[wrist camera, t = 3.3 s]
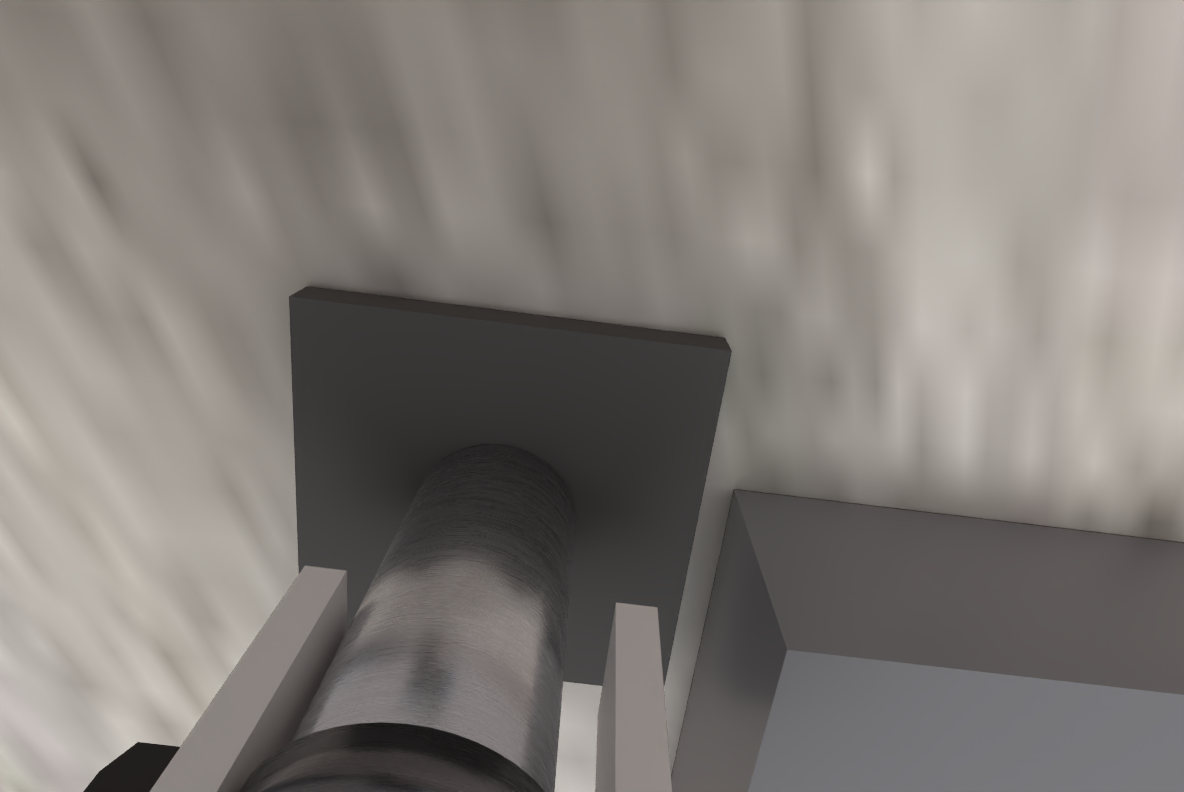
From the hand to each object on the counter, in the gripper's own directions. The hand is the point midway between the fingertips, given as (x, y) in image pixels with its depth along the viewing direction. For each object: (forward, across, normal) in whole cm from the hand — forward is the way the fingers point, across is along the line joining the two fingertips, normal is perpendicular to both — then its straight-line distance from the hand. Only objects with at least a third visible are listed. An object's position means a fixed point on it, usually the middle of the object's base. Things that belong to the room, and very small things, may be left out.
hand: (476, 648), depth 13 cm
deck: (+6, 0, 0) cm, 6 cm away
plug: (+5, 0, 0) cm, 5 cm away
